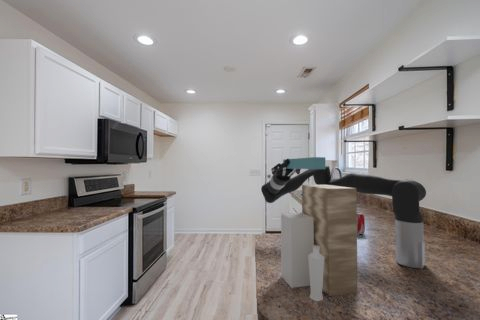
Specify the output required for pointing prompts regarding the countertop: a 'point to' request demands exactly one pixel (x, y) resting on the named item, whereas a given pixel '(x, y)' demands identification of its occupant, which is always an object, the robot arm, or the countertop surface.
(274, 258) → the countertop surface
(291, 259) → the white block
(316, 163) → the teal bar
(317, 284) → the perfume bottle
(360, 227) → the soda can
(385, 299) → the countertop surface
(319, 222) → the maple stand
